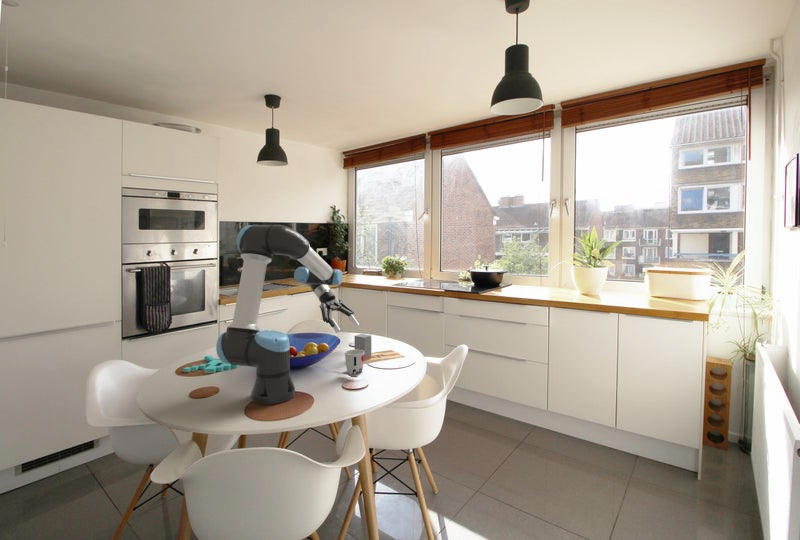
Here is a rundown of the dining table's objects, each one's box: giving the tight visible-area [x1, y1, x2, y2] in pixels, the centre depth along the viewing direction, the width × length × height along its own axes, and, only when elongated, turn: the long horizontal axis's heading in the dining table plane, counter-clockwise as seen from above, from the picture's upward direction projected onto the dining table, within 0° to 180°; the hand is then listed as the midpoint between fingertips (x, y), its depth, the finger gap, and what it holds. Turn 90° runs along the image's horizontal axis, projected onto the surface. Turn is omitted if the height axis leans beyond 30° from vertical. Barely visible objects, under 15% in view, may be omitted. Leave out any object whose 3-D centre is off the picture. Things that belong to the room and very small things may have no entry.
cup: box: [344, 349, 365, 378], centre depth 169 cm, size 8×8×10 cm
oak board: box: [363, 349, 406, 365], centre depth 192 cm, size 14×24×2 cm, turn 121°
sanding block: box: [353, 333, 372, 361], centre depth 188 cm, size 6×5×11 cm
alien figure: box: [182, 354, 240, 374], centre depth 182 cm, size 20×2×20 cm
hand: (348, 328), depth 193 cm, fingers open, 13 cm apart
